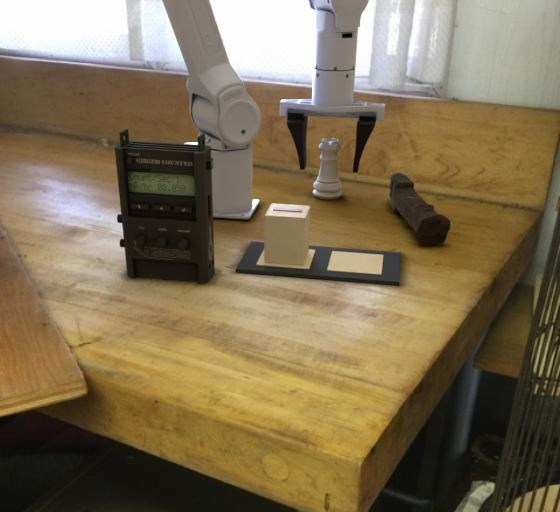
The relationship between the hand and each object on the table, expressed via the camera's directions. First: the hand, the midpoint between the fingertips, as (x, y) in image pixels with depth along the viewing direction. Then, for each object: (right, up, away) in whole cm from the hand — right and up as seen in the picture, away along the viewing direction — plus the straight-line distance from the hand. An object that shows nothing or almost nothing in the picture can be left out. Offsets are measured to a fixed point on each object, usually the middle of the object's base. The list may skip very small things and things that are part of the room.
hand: (329, 169), depth 101 cm
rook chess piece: (0, -4, +2) cm, 4 cm away
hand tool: (+10, -10, -8) cm, 16 cm away
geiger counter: (-19, -19, -25) cm, 37 cm away
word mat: (-2, -17, -21) cm, 27 cm away
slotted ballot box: (-6, -16, -21) cm, 27 cm away
